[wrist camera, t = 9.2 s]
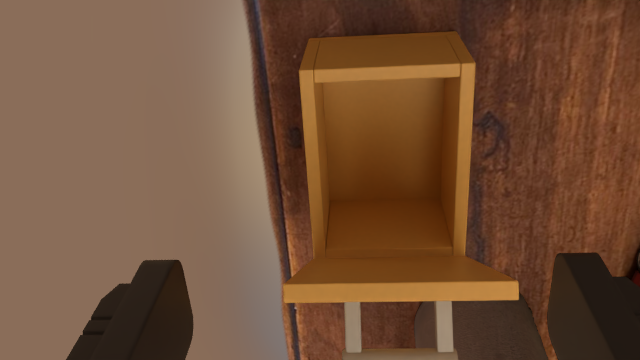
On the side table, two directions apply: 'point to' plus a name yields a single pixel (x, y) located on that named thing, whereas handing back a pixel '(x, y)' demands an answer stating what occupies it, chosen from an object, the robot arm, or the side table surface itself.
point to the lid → (399, 294)
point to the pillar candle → (485, 330)
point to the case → (388, 143)
